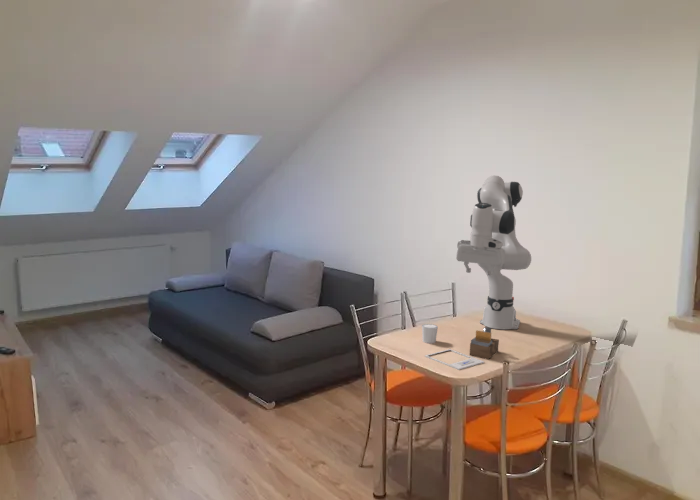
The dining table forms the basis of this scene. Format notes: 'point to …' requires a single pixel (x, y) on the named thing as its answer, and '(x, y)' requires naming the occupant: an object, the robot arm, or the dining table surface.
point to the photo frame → (460, 364)
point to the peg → (487, 329)
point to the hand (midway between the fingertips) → (479, 273)
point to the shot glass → (429, 333)
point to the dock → (484, 349)
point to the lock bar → (482, 339)
